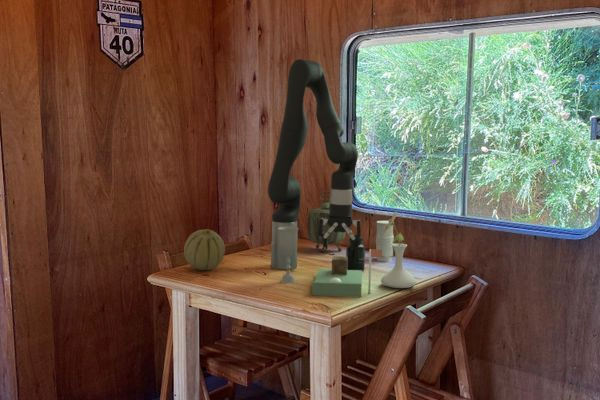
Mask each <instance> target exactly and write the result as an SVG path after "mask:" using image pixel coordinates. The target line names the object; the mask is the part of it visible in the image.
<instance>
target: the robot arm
mask: <svg viewBox="0 0 600 400" xmlns="http://www.w3.org/2000/svg"><path fill="white" fill-rule="evenodd" d="M306 88H308V89H310V90H311V92H312V94H313V96H314V98H315V102H316V104H315V105H316V108H315V109H316V111H315V112H316V113H315V117H316V120H317V125H318V126H319V129H320V131H321V133H322V135H323V138H324V145H325V152H326V155H327V157H328V159H329V161H330V162H331V163H333V164H336V165H339V167H338V169H337V170H335V171H332V174H331V180H330V182H331V183H330V191H329V192H330V194H329V200H330V202H329V203H330V207H329V218H328V219H323V218H320V222H319V232H318V235H319V236H321V237H323V244H322V248H323V247H324V249H325V250H328V245H329V244H328V236H329V234H330V233H331V232H332V231H334V232H343V233H344V232H346V234H347V235H348V236H349V237H351V248H350V251H352V250H353V249H354V248H355V240H356V239H358V238H360V237H362V233H361V232H362V230H361V227H362V226H361V222H362V221H361V219H357V220H356V219H355V220H353V219H352V217H353V216H352V215H353V212H352V211H353V210H352V209H353V178H354V177H353V176H354V173H355V171H356V167H357V163H358V159H359V151H358V147H357V146H356V145H355V144H354V143H352V142H349V141H347V142H342V141H341V137H343V135H344V133H345V130H344V126H343V125H342V122H341V121H340V118H339V115H338V114H337V111H336V109H335V106H334V103H333V101H332V96H331V92H330V89H329V86H328V81H327V78H326V75H325V71H324V69H323V67H322V65H321V63H320V62H318V61H315V60H311V59H310V60H309V59H302V58H300V59H295V60H294V61H293V62H292V64H291V66H290V68H289V71H288V77H287V90H286V91H287V92H286V99H285V106H284V112H283V117H282V118H283V119H282V123H281V128H280V132H279V140H278V145H277V151H276V156H275V160H274V165H273V167H272V172H271V175H270V178H269V181H268V185H267V194H268V195H267V196H268V197H269V200H270V201H271V202H272V203H274V204H279V205H278V207H277V209H276V210H275V211H274V212H273V213H272V215H271V218H272V219H271V224H272V225H271V234H272V235H271V242H270V268H271V269H276V270H283V271H284V270H286V271H287V268H286V266H287V262H286V261H287V256H286V255H284V253H283V251H282V249H281V246H280V231H279V229H278V228H280V227H298V216H299V214H300V210H301V209H300V208H301V195H302V194H301V193H302V192H301V186H300V182H299V181H298V179H297V178H295V177H294V176H290V175H291V171H292V168H293V165H294V164H295V163H296V161H297V159H298V157H299V155H300V154H301V152H302V151H303V149H304V147H305V143H306V139H307V135H308V131H309V130H308V129H309V124H308V123H309V122H308V119H307V114H306V111H305V107H304V97H305V92H306ZM326 222H328V224H329V226H330V228H329V229H328V230H327V232H326V233H323V225H325V224H326ZM353 225H354V227H356V234H354V232H353V231H352V229H351V227H352V226H353ZM290 261H291V262H290V267H291V268H290V270H294V269H297V268H298V244H297V245H296V248H295V250H294V253H293V255H291V256H290Z"/></svg>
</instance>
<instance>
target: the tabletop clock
mask: <svg viewBox="0 0 600 400" xmlns="http://www.w3.org/2000/svg"><path fill="white" fill-rule="evenodd" d="M330 192H331V191H322V192H320V193H319V195H318V197H319V199H320V200H321V201H322V203H321V205H320V207H318V208H314V209H312V210H309V213H308V216H307V237H308V240H309V241H310V242H312V243H314V244H315V243H316V245H315V247H316V249H320V247H321V246H320V245H323V237H321V236H319V235H318V232H319V222H320V218H323V219H328V218H329V207H330V199H328V198H327V197H326V198H322V194H329V195H330ZM329 228H330V226H329V224H328V222H326V224H325V225H323V233H326V232H327V230H328V229H329ZM346 234H347V232H344V233H343V232H334V231H332V232H331V233H330V234H329V236H328V245H335V246H336V247H337V251H338V252H341V251H343V250H342V247H340V246H339V244H338V243H340V242H343V241H344V240H345V238H346ZM320 250H321V252H322V253H324V252H325V251H326V249H325V247H323V246H322V248H321V249H320Z"/></svg>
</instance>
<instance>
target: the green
mask: <svg viewBox="0 0 600 400" xmlns="http://www.w3.org/2000/svg"><path fill="white" fill-rule="evenodd" d="M335 277H336V278H339V279H340V280H341V281H342V282H329V281H330V279H332V278H335ZM362 282H363V271H362V270H347V275H344V274H334V275H332V268H329V269H327V268H326V269H325V268H318V271H317V272H316V276H315V279H314V280H313V281H312V284H311V287H312V288H311V292H312V296H326V297H328V296H329V297H348V298H349V297H354V298H355V297H356V298H361V297H362V285H363V283H362Z"/></svg>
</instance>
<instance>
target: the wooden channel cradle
mask: <svg viewBox="0 0 600 400" xmlns="http://www.w3.org/2000/svg"><path fill="white" fill-rule="evenodd" d="M331 269H332V275H334V274H344V275H347V257H346V256H344V255H343V256H340V255H339V256H336V255H333V256H332V259H331Z"/></svg>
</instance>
